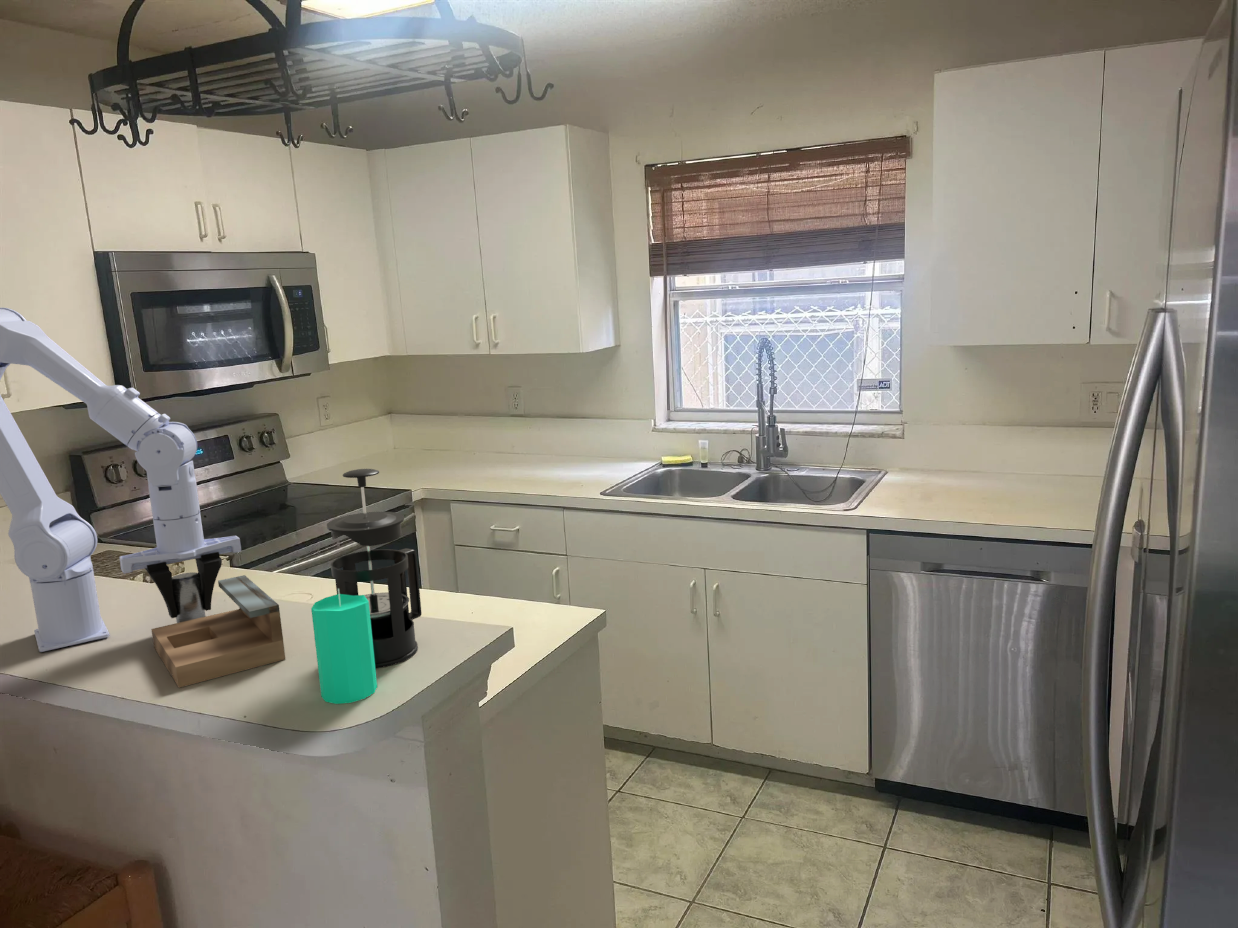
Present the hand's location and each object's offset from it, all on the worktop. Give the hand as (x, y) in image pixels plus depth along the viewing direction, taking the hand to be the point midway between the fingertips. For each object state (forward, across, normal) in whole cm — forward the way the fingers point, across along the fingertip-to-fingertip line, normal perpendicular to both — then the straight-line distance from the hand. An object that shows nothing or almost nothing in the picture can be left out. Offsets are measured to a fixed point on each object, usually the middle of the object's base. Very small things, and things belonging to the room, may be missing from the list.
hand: (190, 612), depth 122 cm
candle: (+2, +9, -35) cm, 36 cm away
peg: (+2, 0, 0) cm, 2 cm away
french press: (+2, +16, -26) cm, 31 cm away
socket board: (+2, 0, -12) cm, 13 cm away
